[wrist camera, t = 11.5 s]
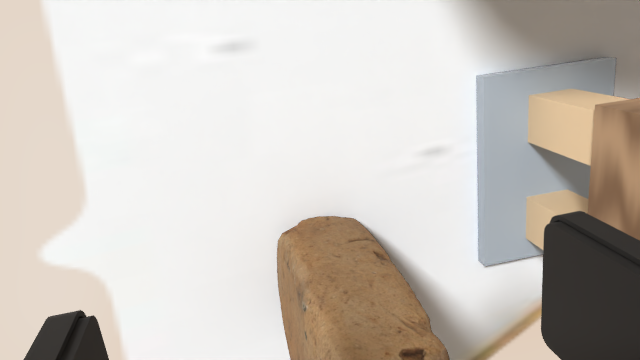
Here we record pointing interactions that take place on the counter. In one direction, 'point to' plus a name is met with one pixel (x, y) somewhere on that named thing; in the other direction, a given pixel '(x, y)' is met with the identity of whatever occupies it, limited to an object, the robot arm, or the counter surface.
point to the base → (535, 151)
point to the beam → (616, 166)
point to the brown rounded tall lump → (348, 297)
